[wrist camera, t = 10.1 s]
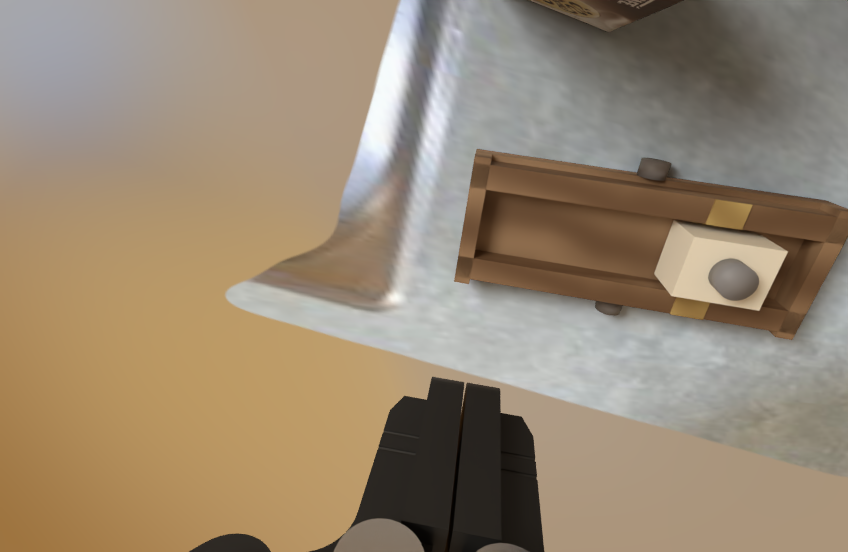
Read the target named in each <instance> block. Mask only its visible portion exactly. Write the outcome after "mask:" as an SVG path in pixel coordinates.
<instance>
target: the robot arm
mask: <svg viewBox="0 0 848 552" xmlns="http://www.w3.org/2000/svg"><path fill="white" fill-rule="evenodd" d="M463 390H464V382H459V381H454V380H448V379H442V378H436V377H432V379H431V384H430V388H429V393H428V398H427V400H424V399H419V398H413V397H408V396H404V397H403V398H402V399H401V400H400V401H399V402H398V403H397V404H396V405H395V406H394V407H393V408H392V409H391V410H390V412H389V415H388V418H387V422H386V425H385V428H384V432H383V434H382V437H381V440H380V444H379V448H378V450H377V453H376V457H375V459H374V463H373V466H372V469H371V472H370V475H369V479H368V482H367V485H366V488H365V491H364V494H363V498H362V501H361V504H360V507H359V510H358V513H357V516H356V518H355V520H354V522H353V524H352V525H351V527H350V528H349V529H348V530H347V531H346V533H345V534H343V535H342V536H341V537H340V538H339V539H338V540H336V541H335V542H333V543H332V544H330V545H328V546H326V547H324V548H321V549H318V550H315V551H310V552H544V545H543V535H542V524H541V514H540V503H539V493H538V482H537V480H536V477H537V472H536V462H535V452H534V440H533V435H532V434H531V432H530V430H529V429H528V427H527V425H526V423H525V422H524V420H523V418H522V417H520V416H514V415H508V414H503V413H500V389H499V388H495V387H489V386H483V385H478V384H472V383H467V384H466V390H465V395H464V401H463V407H462V400H463ZM461 409H462V412H461ZM190 552H271V551H270V550H269V548H268V547H267V546H266V545H265V544H264V543H263V542H262V541H261V540H259V539H257V538H255V537H253V536H250V535H246V534H228V535H223V536H219V537H217V538H214V539H211V540H209V541H207V542H205V543H203V544H201V545H200V546H198V547H196V548H195V549H193V550H191V551H190Z"/></svg>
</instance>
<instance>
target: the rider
mask: <svg viewBox="0 0 848 552" xmlns="http://www.w3.org/2000/svg"><path fill="white" fill-rule="evenodd" d="M787 253H788V251H786V250H785V249H783V248H781V247H780V246H778V245H777V244H775V243H773V242H772V241H770V240H768V239H767V238H765V237H764V236H762V235H760V234H759V233H757V232H750V231H744V230H738V229H731V228H725V227H718V226H712V225H705V224H699V223H692V222H686V221H680V220H673V223H672V226H671V229H670V231H669V234H668V237H667V240H666V242H665V245H664V248H663V251H662V253H661V256H660V259H659V262H658V264H657V267H656V270H655V272H654V274H655V276H656V277H657V278H658V279H659V281H660V282H661V283H662V285H663V286H664V287H665V288H666V290H667V291H668V292H669V294H670V295H671V296H674V297H680V298H686V299H692V300H698V301H704V302H710V303H716V304H722V305H728V306H734V307H740V308H746V309H751V310H757V311H759V310H760V308H761V306H762V304H763V302H764V300H765V298H766V296H767V294H768V292H769V290H770V288H771V285H772V283H773V281H774V279H775V277H776V275H777V273H778V271H779V269H780V267H781V265H782V263H783V261H784V259H785V257H786V255H787Z"/></svg>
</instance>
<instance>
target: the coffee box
mask: <svg viewBox="0 0 848 552" xmlns="http://www.w3.org/2000/svg"><path fill="white" fill-rule="evenodd" d="M530 1H533V2H535V3H538V4H540V5H543V6H545V7H548V8H550V9H553V10H555V11H558V12H560V13H563V14H565V15H568V16H570V17H573V18H575V19H578V20H580V21H583V22H585V23H588V24H590V25H593V26H595V27H597V28H600V29H602V30H605V31H607V32H611V31H613V30H615V29H617V28H620V27H622V26H625V25H627V24H629V23H632V22H634V21H636V20H639V19H642V18H644V17H646V16H649V15H651V14H653V13H655V12H658V11H660V10H663V9H665V8H668V7H670V6H672V5H674V4H677V3H678V2H681V1H684V0H530Z"/></svg>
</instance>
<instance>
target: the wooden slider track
mask: <svg viewBox="0 0 848 552" xmlns="http://www.w3.org/2000/svg"><path fill="white" fill-rule="evenodd" d="M670 166H671V163H669V162H666V161H662V160H658V159H652V158H642V159H641V163H640V166H639V169H638V172H637V173H636V172H629V171H622V170H616V169H609V168H602V167H595V166H589V165H582V164H575V163H568V162H562V161H555V160H548V159H541V158H535V157H528V156H521V155H514V154H508V153H501V152H494V151H487V150H481V149H477V150H476V154H475V159H474V165H473V171H472V177H471V183H470V189H469V195H468V201H467V207H466V213H465V219H464V225H463V231H462V237H461V243H460V249H459V255H458V262H457V268H456V274H455V280H454V281H455V282H460V283H466V284H469V281H470V279H473V280H479V281H485V282H490V283H496V284H502V285H508V286H514V287H520V288H525V289H531V290H537V291H543V292H549V293H554V294H560V295H566V296H572V297H578V298H584V299H589V300H595V301H597V302H596V305H595V308H596V309H597V310H598V311H600V312H602V313H604V314H607V315H619V314H620V311H621V308H622V305H624V306H630V307H636V308H642V309H648V310H653V311H659V312H665V313H670V314H672V315H677V316H683V317H689V318H695V319H701V320H703V319H706V320H712V321H717V322H723V323H729V324H735V325H741V326H746V327H752V328H758V329H764V330H769V331H770V332H771V333H772V334H773V335H774V336H775V337H779V338H784V339H790V340H792V339H793V337H794V335H795V334H796V332H797V330H798V328H799V326H800V324H801V322H802V321H803V319H804V317H805V315H806V313H807V311H808V310H809V308H810V306H811V304H812V302H813V300H814V298H815V297H816V295H817V293H818V291H819V289H820V287H821V285H822V284H823V282H824V280H825V278H826V276H827V274H828V273H829V271H830V269H831V267H832V265H833V263H834V261H835V260H836V258H837V256H838V254H839V252H840V250H841V249H842V247H843V245H844V243H845V241H846V239H847V237H848V209H846V208H844V207H841V206H839V205H836V204H834V203H831V202H828V201H825V200H818V199H812V198H805V197H798V196H791V195H785V194H778V193H771V192H764V191H758V190H751V189H744V188H737V187H731V186H724V185H717V184H710V183H703V182H697V181H690V180H683V179H676V178H670V177H667V175H668V172H669V169H670ZM673 220H680V221H686V222H692V223H699V224H705V225H712V226H718V227H725V228H731V229H738V230H744V231H750V232H757V233H759V234H760V235H762V236H764V237H765V238H767V239H768V240H770V241H772V242H773V243H775V244H777V245H778V246H780V247H781V248H783V249H785V250H786V251H788V253H787V255H786V257H785V259H784V261H783V263H782V265H781V267H780V269H779V271H778V273H777V275H776V277H775V279H774V281H773V283H772V285H771V288H770V290H769V292H768V294H767V296H766V298H765V300H764V302H763V304H762V306H761V308H760V310H759V311H757V310H751V309H746V308H740V307H734V306H728V305H722V304H716V303H710V302H704V301H698V300H692V299H686V298H680V297H674V296H671V295H670V294H669V292H668V291H667V290H666V288H665V287H664V286H663V285H662V283H661V282H660V281H659V279H658V278H657V277H656V276H655V274H654V272H655V270H656V267H657V264H658V262H659V259H660V256H661V253H662V251H663V248H664V245H665V242H666V240H667V237H668V234H669V231H670V229H671V226H672V223H673Z"/></svg>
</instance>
